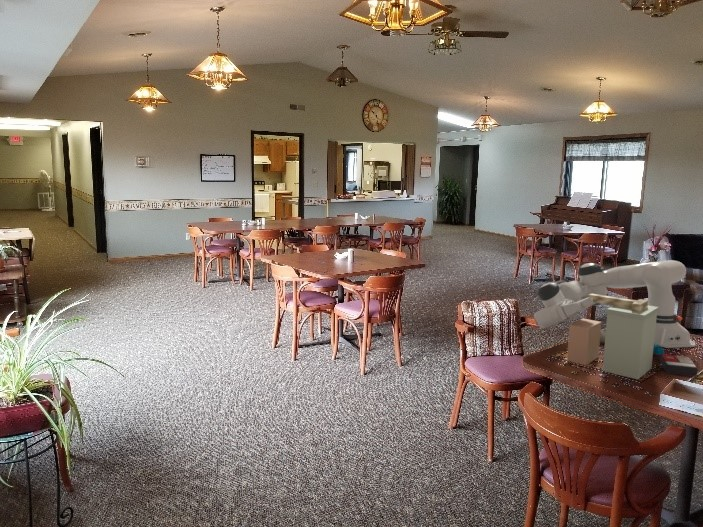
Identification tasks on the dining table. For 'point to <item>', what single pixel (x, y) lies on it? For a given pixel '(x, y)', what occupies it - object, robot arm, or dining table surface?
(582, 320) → the light brown box
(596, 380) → the dining table surface
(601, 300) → the wooden key
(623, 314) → the tall pale green box
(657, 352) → the gear
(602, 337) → the ceramic sculpture
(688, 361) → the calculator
